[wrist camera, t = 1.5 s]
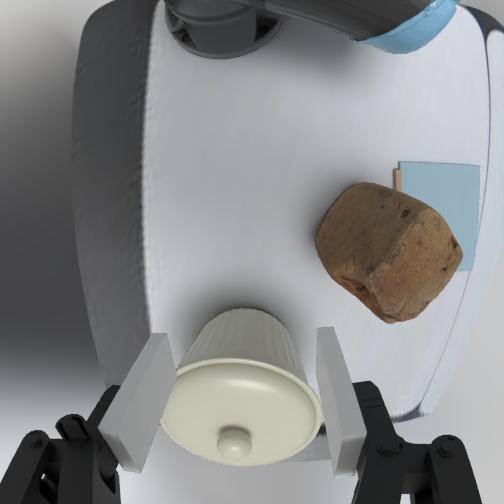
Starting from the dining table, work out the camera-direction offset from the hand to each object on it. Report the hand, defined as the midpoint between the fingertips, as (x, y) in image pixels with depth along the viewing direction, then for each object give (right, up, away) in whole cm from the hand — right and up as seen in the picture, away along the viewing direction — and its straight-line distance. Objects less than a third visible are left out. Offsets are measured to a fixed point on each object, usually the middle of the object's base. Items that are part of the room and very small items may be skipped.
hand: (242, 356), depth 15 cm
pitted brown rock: (+13, +9, +25) cm, 30 cm away
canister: (0, -8, +31) cm, 32 cm away
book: (+27, +10, +24) cm, 38 cm away
